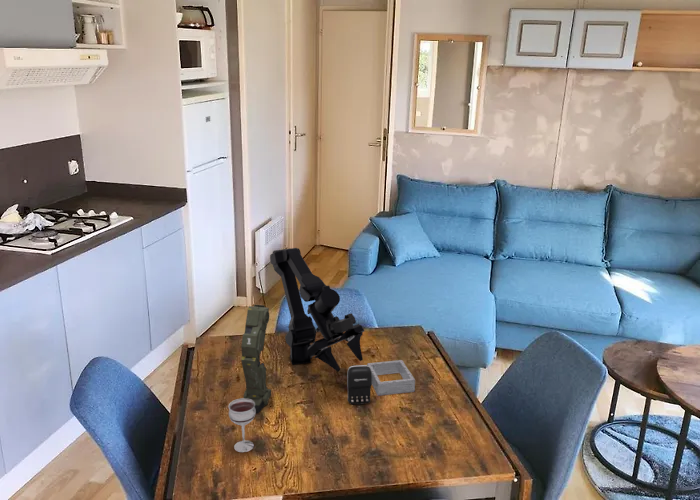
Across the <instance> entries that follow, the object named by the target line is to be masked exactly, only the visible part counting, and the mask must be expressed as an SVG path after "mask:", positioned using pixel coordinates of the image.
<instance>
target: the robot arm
mask: <svg viewBox="0 0 700 500" xmlns="http://www.w3.org/2000/svg"><path fill="white" fill-rule="evenodd" d="M269 259H270V263H271V264H272V267H273V270H274V272H275V273H277V275H278V276H279V277H281V282H282V286H283V291H284V295H285V299H286V303H287V306H288V307H287V308H288V311H289V315H290V320H289V323H288V331H287V333H286V335H285V336H284V337H285V339H284V340H285V343H286V345H288V346H289V349H290V354H289V359H290V362H291V365H301V364H311V363H312V358H313V357H314V358H315V359H317V360H320V361H321V362H323V363H325V364H326V365H328V366H329V367H330V368H332V369H333V370H334V371H336V372H338V373H339V372H340V371H341V368H340V365H339V363H338V362H337V360H336V358H335V356H334V354H333V351H332V346H334V345H336V344H337V343H340V342H343V341H346V342H347V343H346V346H347V347H348V348H349V349H350V351H351V353H353V354H354V356H355V357H356V358H357V359H358V360H359V362H362V361H363V360H364V358H363V353H362V350H361V349H362V348H361V339H362V336H363V333H364V332H365V328H363V325H362V324H358V323H357V324H356V322H357V320H356V317H355V316H354V315H353V313H351V312H350V313H348V314H345V315H344V318H343V319H341V318H339V316H337V315H336V316H334V315H333V314H334V313H333V311H334V310H335V309H336V307H337V306H338V304H339V303H340V300H341V298H340V294H339V293H338V292H337V291H336V290H334V289H332V288H331V287H330V285H326V284H325V283H324V281H323V279H321V277H320V276H317V275H315V274H314V273H312V271H311V269H310V268H309V265H308V264H307V263H306V261H305V259H304V258H303V256H302V254H301V249H300V248H297V247H291V248H283V249H277V250H276V249H275V250H273V251H272V253H271V254H270V256H269ZM298 283H299V286H298ZM302 300H303V301H302ZM312 301H313V302H312ZM303 302H306V303H309V302H312V303H310V304H308V305H307V313H306V312H305V310H304V306H303ZM307 314H308V315H309V316H308V315H307ZM313 321H314V322H313ZM314 323H315V324H316V326H317V327H315V325H314ZM317 332H320V334H321V336H322V338H320V339H317V340H316V336H317Z"/></svg>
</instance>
